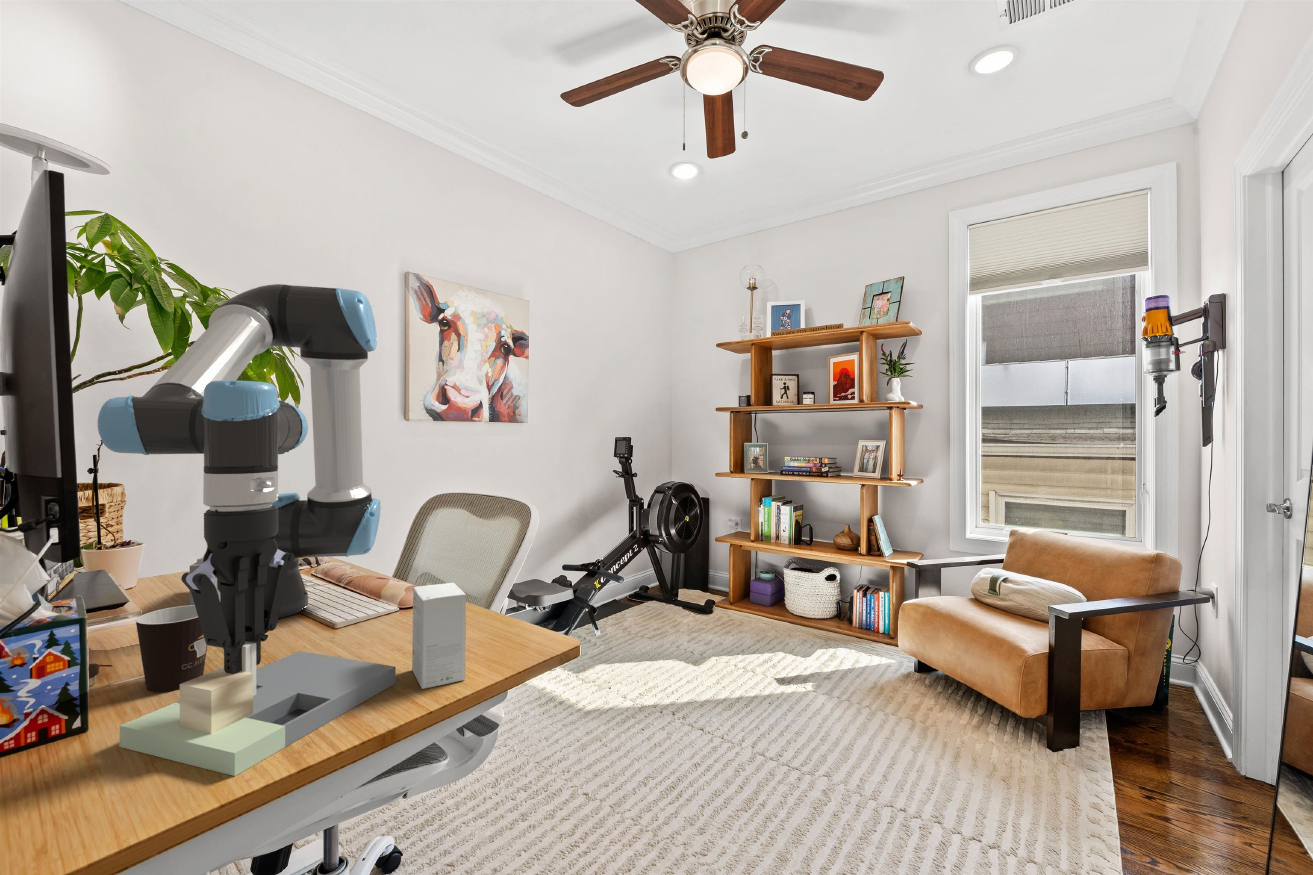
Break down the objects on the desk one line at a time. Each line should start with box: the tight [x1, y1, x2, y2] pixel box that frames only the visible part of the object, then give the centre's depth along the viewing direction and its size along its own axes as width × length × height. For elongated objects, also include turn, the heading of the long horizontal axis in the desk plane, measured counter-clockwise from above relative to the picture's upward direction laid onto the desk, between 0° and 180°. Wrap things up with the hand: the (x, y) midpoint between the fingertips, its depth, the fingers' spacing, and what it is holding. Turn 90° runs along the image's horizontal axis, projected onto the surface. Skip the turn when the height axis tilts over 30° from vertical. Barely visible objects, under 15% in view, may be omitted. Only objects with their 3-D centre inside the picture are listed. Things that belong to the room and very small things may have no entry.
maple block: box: [179, 667, 253, 734], centre depth 69 cm, size 5×5×5 cm
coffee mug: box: [135, 604, 208, 694], centre depth 86 cm, size 12×9×10 cm
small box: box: [411, 582, 467, 690], centre depth 89 cm, size 8×6×13 cm
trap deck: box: [119, 650, 397, 777], centre depth 77 cm, size 24×18×2 cm
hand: (242, 695), depth 73 cm, fingers closed
